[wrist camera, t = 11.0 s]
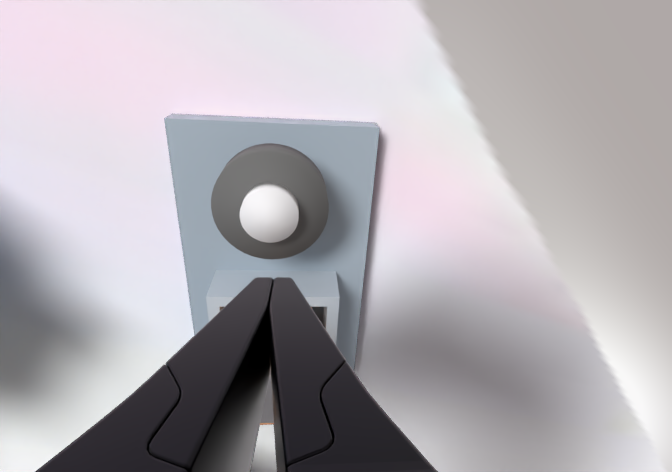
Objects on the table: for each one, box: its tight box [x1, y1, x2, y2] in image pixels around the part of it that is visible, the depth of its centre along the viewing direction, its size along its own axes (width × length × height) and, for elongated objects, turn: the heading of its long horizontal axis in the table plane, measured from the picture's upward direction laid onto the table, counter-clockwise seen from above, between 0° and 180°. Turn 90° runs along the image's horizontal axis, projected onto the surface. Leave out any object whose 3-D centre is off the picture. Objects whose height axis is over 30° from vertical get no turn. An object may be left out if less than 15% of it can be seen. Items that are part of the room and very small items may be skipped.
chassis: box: [164, 114, 380, 371], centre depth 21 cm, size 16×10×4 cm, turn 177°
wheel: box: [211, 143, 329, 259], centre depth 17 cm, size 5×5×2 cm
